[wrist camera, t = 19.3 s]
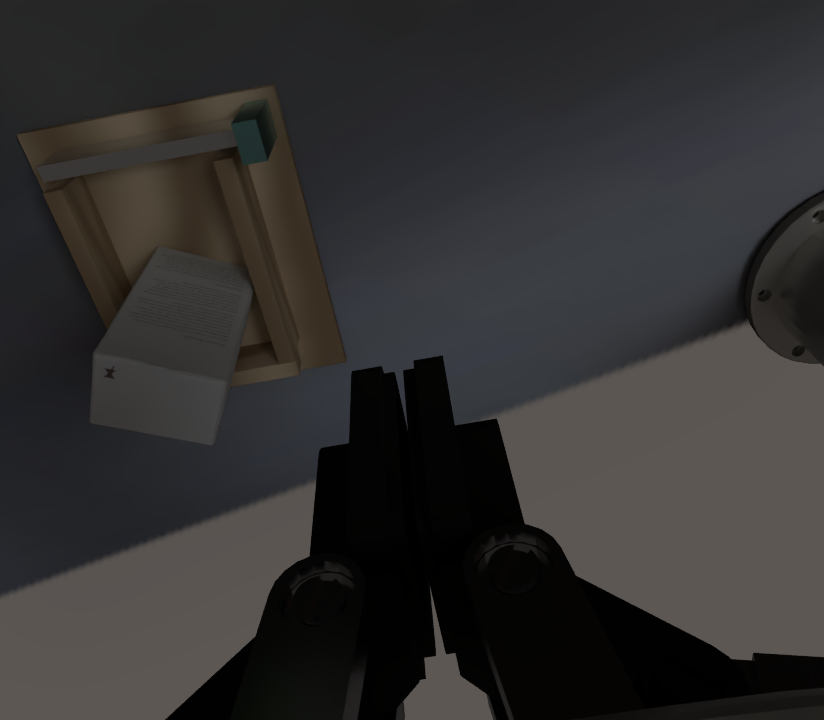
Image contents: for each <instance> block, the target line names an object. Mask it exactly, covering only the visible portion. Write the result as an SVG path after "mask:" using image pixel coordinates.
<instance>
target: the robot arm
mask: <svg viewBox="0 0 824 720" xmlns="http://www.w3.org/2000/svg"><path fill="white" fill-rule="evenodd" d="M745 304H746V313H747V316H748V319H749V322H750V325H751V326H752V328H753V330H754V331H755V333H756V334H757V336H758V337H759V338H760V339H761V340H762V341H763V342H764V343H765V344H766V345H767V346H768V347H769V348H770V349H772V350H773V351H774V352H776V353H777V354H779V355H780V356H782V357H785V358H787V359H790V360H793V361H797V362H803V363H809V364H817V363H818V364H820V363H821V364H822V365H823V366H824V193H822V194H820V195H818V196H816V197H814V198H812V199H810V200H809V201H808V202H806V203H805V204H804V205H802V206H801V207H799V208H798V209H797V210H795V211H794V212H792V213H791V214H790V215H789V216H788V217H787V218H786V219H785V220H784V221H783V222H782V223H781V224H780V225H779V226H778V227H777V228H776V229H775V230H774V232H773V233H772V234H771V235H770V237H769V238H768V239H767V240H766V242H765V243H764V244H763V246H762V248H761V250H760V251H759V253H758V255H757V257H756V259H755V260H754V262H753V265H752V268H751V271H750V273H749V276H748V279H747V286H746V292H745ZM403 375H404V387H405V399H406V412H407V424H408V430H407V426H406V421H405V417H404V412H403V408H402V403H401V398H400V394H399V389H398V385H397V380H396V376H395V373H394V372H391V373H385V374H384V372H383V369H382V367H381V366H380V367H374V368H368V369H362V370H356V371H352V375H351V403H350V433H349V443H348V444H342V445H337V446H331V447H325V448H321V449H320V451H319V457H318V468H317V479H316V491H315V502H314V513H313V525H312V536H311V547H310V557H307V558H305V559H303V560H300V561H298V562H296V563H295V564H294V565H292V566H291V567H289V568H288V569H287V570H285V571H284V572H283V573H282V574H281V576H280V577H279V578H278V579H277V580H276V581H275V583H274V585H273V587H272V589H271V591H270V593H269V596H268V599H267V602H266V605H265V609H264V611H263V615H262V618H261V621H260V624H259V627H258V630H257V634H256V636H255V638H253V639H252V640H251V641H250V642H249V643H248V644H247V645H246V646H245V647H243V648H242V649H241V651H239V652H238V653H237V654H236V655H235V656H234V657H233V658H232V659H231V660H229V661H228V662H227V663H226V664H225V665H224V666H223V667H222V668H221V669H220V670H219V671H217V672H216V673H215V674H214V675H213V676H212V677H211V678H210V679H209V680H208V681H207V682H206V683H204V684H203V685H202V686H201V687H200V688H199V689H198V690H197V691H196V692H195V693H194V694H193V695H192V696H190V697H189V698H188V699H187V700H186V701H185V702H184V703H183V704H182V705H181V706H180V707H178V708H177V709H176V710H175V711H174V712H173V713H172V714H171V715H170V716H169V717H168V718H167V719H165V720H404V719H405V713H404V703H403V701H404V699H405V698H406V697H407V696H408V695H409V694H410V692H411V691H412V690H413V689H414V688H415V687H416V685H417V684H418V683H419V680H422V679H426V675H425V662H424V658H425V657H432V656H436V648H435V637H434V626H433V615H432V606H431V594H430V588H431V592H432V596H433V600H434V605H435V609H436V613H437V618H438V622H439V626H440V630H441V635H442V639H443V643H444V648H445V652H446V654H451V653H456V657H457V661H458V666H459V671H460V675H461V676H462V677H463V678H465V679H466V680H467V681H469V682H470V683H472V684H474V685H475V686H476V687H478V688H479V689H480V690H482V691H483V692H485V693H486V694H487V697H488V703H489V707H490V710H491V713H492V716H493V720H824V657H810V656H796V655H795V656H794V655H779V654H763V653H753V657H752V661H751V660H736V659H735V660H734V659H730V658H729V657H728V656H727V655H725V654H724V653H722V652H721V651H720V650H718V649H717V648H715V647H714V646H712V645H710V644H708V643H706V642H704V641H702V640H700V639H698V638H696V637H695V636H692V635H690V634H689V633H686V632H685V631H683V630H681V629H679V628H677V627H675V626H673V625H671V624H669V623H667V622H665V621H663V620H661V619H659V618H657V617H655V616H653V615H652V614H649V613H648V612H646V611H644V610H642V609H640V608H638V607H636V606H634V605H632V604H630V603H628V602H626V601H624V600H622V599H620V598H618V597H616V596H615V595H612V594H611V593H609V592H606V591H605V590H603V589H601V588H599V587H597V586H595V585H593V584H591V583H589V582H587V581H585V580H583V579H581V578H579V577H577V576H576V575H575V573H574V571H573V569H572V567H571V566H570V564H569V562H568V560H567V558H566V556H565V554H564V552H563V550H562V548H561V547H560V545H559V544H558V543H557V542H556V540H555V539H554V538H553V537H552V536H551V535H549V534H548V533H546V532H545V531H543V530H542V529H539V528H536V527H533V526H530V525H526V524H525V523H524V520H523V516H522V512H521V509H520V504H519V500H518V497H517V493H516V489H515V485H514V481H513V478H512V474H511V470H510V466H509V462H508V459H507V455H506V451H505V447H504V443H503V440H502V436H501V432H500V428H499V424H498V421H497V419H491V420H485V421H479V422H473V423H468V424H462V425H456V426H455V424H454V418H453V412H452V407H451V401H450V395H449V389H448V384H447V378H446V372H445V366H444V361H443V356H438V357H432V358H426V359H420V360H414V369H409V370H403ZM429 583H430V584H429Z"/></svg>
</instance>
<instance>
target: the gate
mask: <svg viewBox="0 0 824 720" xmlns="http://www.w3.org/2000/svg"><path fill="white" fill-rule="evenodd" d="M277 137H278V136H277V133H276V129H275V125H274V121H273V118H272V114H271V110H270V107H269V103H268V99H267V98H266V99H261V100H256V101H250V102H245V103H244V105H243V106H242V108H241V109H240V111H239V112H238V114H237V115H236V117H231V118H226V119H220V120H215V121H210V122H205V123H199V124H194V125H189V126H184V127H178V128H173V129H168V130H162V131H157V132H152V133H147V134H141V135H136V136H131V137H126V138H120V139H115V140H110V141H105V142H99V143H94V144H89V145H84V146H78V147H73V148H68V149H63V150H59V151H57V152H56V153H55V154H53V155H52V156H51V157H49V158H48V159H47V160H45V161H44V162H43V163H41V164H40V165H39V166H37V169H38V171H39V173H40V176H41V178H42V180H43V182H49V181H54V180H60V179H65V178H70V177H76V176H81V175H86V174H92V173H97V172H102V171H108V170H113V169H118V168H123V167H129V166H134V165H139V164H145V163H150V162H155V161H161V160H166V159H171V158H177V157H182V156H187V155H193V154H198V153H203V152H209V151H214V150H219V149H224V148H230V147H235V146H238V149H239V153H240V156H241V159H242V163H243V166H244V165H249V164H254V163H260V162H265V161H268V159H269V156H270V154H271V151H272V149H273V146H274V144H275V142H276V139H277Z"/></svg>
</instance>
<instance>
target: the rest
mask: <svg viewBox="0 0 824 720" xmlns="http://www.w3.org/2000/svg"><path fill="white" fill-rule="evenodd" d="M266 98H267V99H268V103H269V107H270V110H271V114H272V118H273V121H274V125H275V129H276V133H277V136H278V137H277V139H276V142H275V144H274V146H273V149H272V151H271V154H270V156H269V159H268V161H265V162H260V163H254V164H249V165H244V166H243V163H242V159H241V156H240V153H239V149H238V146H235V147H230V148H224V149H219V150H214V151H209V152H203V153H198V154H193V155H187V156H182V157H177V158H171V159H166V160H161V161H155V162H150V163H145V164H139V165H134V166H129V167H123V168H118V169H113V170H108V171H102V172H97V173H92V174H86V175H81V176H76V177H70V178H65V179H60V180H54V181H49V182H43V180H42V178H41V176H40V173H39V171H38V169H37V166H39V165H40V164H41V163H43V162H44V161H45V160H47V159H48V158H49V157H51V156H52V155H53V154H55V153H56V152H57V151H59V150H63V149H68V148H73V147H78V146H84V145H89V144H94V143H99V142H105V141H110V140H115V139H120V138H126V137H131V136H136V135H141V134H147V133H152V132H157V131H162V130H168V129H173V128H178V127H184V126H189V125H194V124H199V123H205V122H210V121H215V120H220V119H226V118H231V117H236V115H237V114H238V112H239V111H240V109H241V108H242V106H243V105H244V103H245V102H250V101H256V100H261V99H266ZM17 137H18V139H19V141H20V143H21V146H22V148H23V150H24V152H25V154H26V156H27V158H28V160H29V163H30V165H31V167H32V169H33V171H34V173H35V175H36V177H37V180H38V182H39V184H40V186H41V188H42V190H43V192H44V193H43V195H44V197H45V200H46V202H47V204H48V206H49V208H50V210H51V212H52V214H53V217H54V219H55V221H56V223H57V225H58V227H59V229H60V231H61V233H62V236H63V238H64V240H65V242H66V244H67V246H68V248H69V250H70V253H71V255H72V257H73V259H74V261H75V263H76V265H77V267H78V270H79V272H80V274H81V276H82V278H83V280H84V282H85V284H86V286H87V289H88V291H89V293H90V295H91V297H92V299H93V301H94V303H95V306H96V308H97V310H98V312H99V314H100V316H101V318H102V320H103V322H104V325H105V327H106V329H107V330H108V328H109V327H110V325H111V323H112V321H113V320H114V318H115V316H116V315H117V313H118V311H119V310H120V308H121V306H122V305H123V303H124V301H125V300H126V298H127V296H128V295H129V293H130V291H131V290H132V288H133V286H134V285H135V283H136V281H137V280H138V278H139V277H140V275H141V273H142V272H143V270H144V268H145V267H146V265H147V263H148V262H149V260H150V258H151V257H152V255H153V253H154V252H155V250H156V248H157V247H158V246H163V247H166V248H170V249H174V250H178V251H182V252H186V253H190V254H194V255H199V256H203V257H207V258H211V259H215V260H219V261H223V262H227V263H231V264H235V265H239V266H243V267H248V270H249V273H250V277H251V280H252V283H253V286H254V294H253V299H252V303H251V308H250V312H249V316H248V320H247V325H246V329H245V333H244V336H243V340H242V343H241V347H240V351H239V354H238V358H237V362H236V365H235V369H234V373H233V376H232V380H231V384H230V387H234V386H240V385H246V384H251V383H257V382H263V381H269V380H275V379H280V378H286V377H292V376H298V375H300V370H304V369H309V368H315V367H321V366H327V365H333V364H338V363H344V362H346V355H345V351H344V347H343V343H342V339H341V336H340V332H339V328H338V324H337V320H336V317H335V313H334V309H333V305H332V301H331V297H330V294H329V290H328V286H327V282H326V278H325V275H324V271H323V267H322V263H321V259H320V255H319V252H318V248H317V244H316V240H315V236H314V232H313V229H312V225H311V221H310V217H309V213H308V210H307V206H306V202H305V198H304V194H303V190H302V187H301V183H300V179H299V175H298V171H297V168H296V164H295V160H294V156H293V152H292V148H291V145H290V141H289V137H288V133H287V129H286V126H285V122H284V118H283V114H282V110H281V106H280V103H279V99H278V95H277V91H276V87H275V84H270V85H265V86H260V87H255V88H250V89H244V90H239V91H234V92H229V93H223V94H218V95H213V96H208V97H203V98H197V99H192V100H187V101H182V102H177V103H171V104H166V105H161V106H156V107H150V108H145V109H140V110H135V111H130V112H124V113H119V114H114V115H109V116H104V117H98V118H93V119H88V120H83V121H77V122H72V123H67V124H62V125H57V126H51V127H46V128H41V129H36V130H31V131H25V132H20V133H19V134H17Z"/></svg>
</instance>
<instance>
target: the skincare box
mask: <svg viewBox="0 0 824 720" xmlns="http://www.w3.org/2000/svg"><path fill="white" fill-rule="evenodd" d="M253 294H254V286H253V283H252V280H251V277H250V273H249V270H248V267H243V266H239V265H235V264H231V263H227V262H223V261H219V260H215V259H211V258H207V257H203V256H199V255H194V254H190V253H186V252H182V251H178V250H174V249H170V248H166V247H163V246H158V247H157V248H156V250H155V252H154V253H153V255H152V257H151V258H150V260H149V262H148V263H147V265H146V267H145V268H144V270H143V272H142V273H141V275H140V277H139V278H138V280H137V281H136V283H135V285H134V286H133V288H132V290H131V291H130V293H129V295H128V296H127V298H126V300H125V301H124V303H123V305H122V306H121V308H120V310H119V311H118V313H117V315H116V316H115V318H114V320H113V321H112V323H111V325H110V327H109V328H108V330H107V332H106V334H105V335H104V337H103V338H102V340H101V341H100V343H99V345H98V346H97V348H96V349H95V351H94V352H93V363H92V383H91V401H90V417H89V422H90V423H91V424H95V425H101V426H107V427H113V428H118V429H123V430H129V431H135V432H140V433H145V434H151V435H156V436H162V437H167V438H173V439H178V440H184V441H189V442H194V443H200V444H205V445H209V446H213V445H214V443H215V441H216V437H217V433H218V430H219V426H220V422H221V418H222V415H223V411H224V407H225V403H226V399H227V396H228V392H229V388H230V384H231V380H232V376H233V373H234V369H235V365H236V362H237V358H238V354H239V351H240V347H241V343H242V340H243V336H244V333H245V329H246V325H247V320H248V316H249V312H250V308H251V303H252V299H253Z"/></svg>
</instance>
